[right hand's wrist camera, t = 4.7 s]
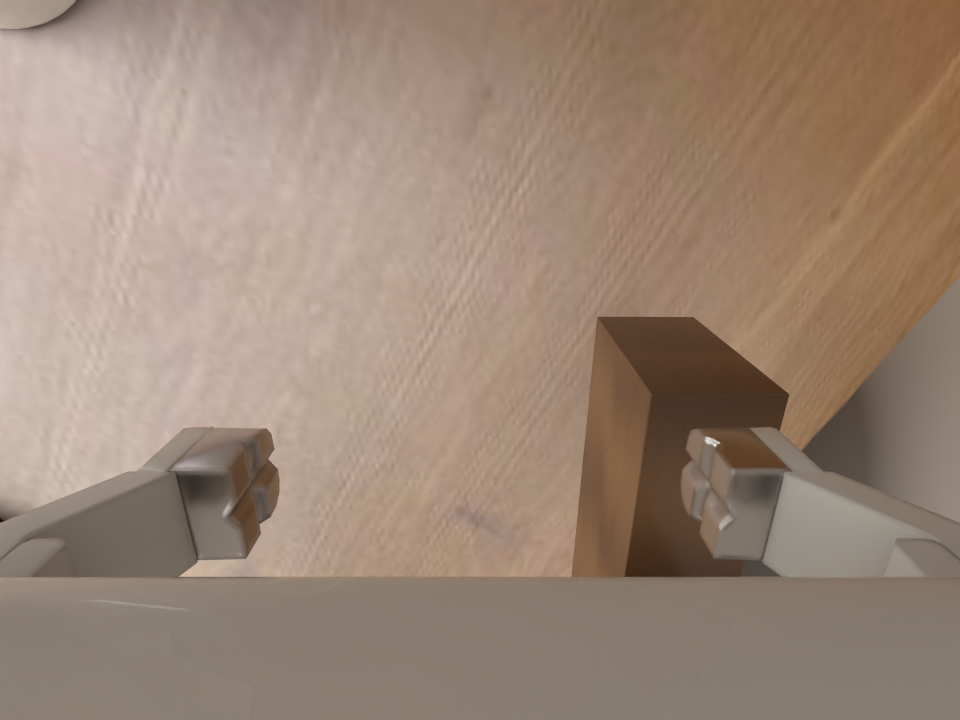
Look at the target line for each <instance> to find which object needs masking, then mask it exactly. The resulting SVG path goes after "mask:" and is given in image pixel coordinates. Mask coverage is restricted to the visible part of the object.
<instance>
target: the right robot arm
mask: <svg viewBox="0 0 960 720" xmlns="http://www.w3.org/2000/svg"><path fill="white" fill-rule="evenodd" d="M76 1H77V0H0V29H23V28H29V27H34V26H38V25H41V24H44V23H46V22H49V21H51V20H53V19H55V18H56V17H58V16H60V15H61V14H63V13H64V12H65V11H67V10H68V9H69V8H70V7H71V6H72V5H73V4H74V3H75V2H76ZM273 450H274V445H273V440H272V435H271V433H270V432H269V431H268V430H267V429H266V428H214V427H195V428H184V429H183V430H182V431H181V432H180V433H178V434H177V435H176V436H175V437H174V438H173V439H172V440H171V441H170V442H169V443H167V444H166V445H165V446H164V447H163V448H162V449H161V450H160V451H159V452H158V453H156V454H155V455H154V456H153V457H152V458H151V459H150V460H149V461H148V462H147V463H145V464H144V465H143V466H142V467H141V468H140V469H139V470H138V471H137V472H126V473H123V474H121V475H118V476H116V477H113V478H111V479H108V480H106V481H103V482H101V483H98V484H96V485H93V486H91V487H88V488H86V489H83V490H81V491H78V492H76V493H73V494H71V495H68V496H66V497H63V498H61V499H58V500H56V501H54V502H51V503H49V504H46V505H44V506H41V507H39V508H36V509H34V510H31V511H29V512H26V513H24V514H21V515H19V516H16V517H14V518H11V519H9V520H6V521H4V522H1V523H0V720H960V523H959V522H956V521H954V520H951V519H949V518H946V517H944V516H941V515H939V514H936V513H934V512H931V511H929V510H926V509H924V508H921V507H919V506H916V505H914V504H911V503H909V502H906V501H904V500H901V499H899V498H896V497H894V496H891V495H889V494H886V493H884V492H881V491H879V490H876V489H874V488H871V487H869V486H866V485H864V484H862V483H859V482H857V481H854V480H852V479H849V478H847V477H844V476H842V475H839V474H837V473H834V472H823V471H822V470H821V469H820V468H819V467H818V466H817V465H816V464H815V463H814V462H812V461H811V460H810V459H809V458H808V457H807V456H806V455H805V454H804V453H803V452H801V451H800V450H799V449H798V448H797V447H796V446H795V445H794V444H793V443H792V442H791V441H789V440H788V439H787V438H786V437H785V436H784V435H783V434H782V433H781V432H780V431H778V430H777V429H775V428H772V427H756V428H748V427H746V428H704V429H693V430H691V432H690V434H689V436H688V439H687V445H686V450H687V452H688V454H689V455H690V457H691V458H692V460H691V461H690V462H689V463H688V464H687V465H686V466H685V467H684V468H683V469H682V476H681V484H680V485H681V496H682V501H683V504H684V507H685V509H686V511H687V513H688V515H689V517H690V518H692V519H694V520H695V521H697V522H698V523H700V524H701V526H700V531H699V534H700V536H701V537H702V539H703V541H704V542H705V544H706V546H707V547H708V549H709V551H710V553H711V554H712V556H713V558H714V559H737V560H763V563H764V564H765V565H767V566H768V567H769V568H771V569H772V570H774V571H775V572H776V573H778V574H779V575H780V576H782V577H179V576H180V575H181V574H183V573H184V572H185V571H187V570H188V569H189V568H191V567H192V566H193V565H195V564H196V563H197V560H222V559H246V558H247V556H248V554H249V553H250V551H251V549H252V548H253V546H254V544H255V542H256V541H257V539H258V537H259V536H260V534H261V531H260V526H259V524H260V523H262V522H263V521H265V520H267V519H268V518H270V517H271V515H272V513H273V511H274V509H275V507H276V504H277V500H278V495H279V475H278V469H277V468H276V467H275V466H274V465H273V464H272V463H271V462H270V461H269V460H268V458H269V457H270V455H271V454H272V452H273Z"/></svg>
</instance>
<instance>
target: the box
mask: <svg viewBox="0 0 960 720" xmlns="http://www.w3.org/2000/svg"><path fill="white" fill-rule="evenodd" d="M788 397H789V394H788V393H787V392H786V391H784V390H783V389H782V388H781V387H780V386H778V385H777V384H776V383H775V382H773V381H772V380H771V379H770V378H768V377H767V376H766V375H765V374H763V373H762V372H761V371H760V370H758V369H757V368H756V367H755V366H753V365H752V364H751V363H750V362H748V361H747V360H746V359H745V358H743V357H742V356H741V355H740V354H738V353H737V352H736V351H735V350H733V349H732V348H731V347H730V346H728V345H727V344H726V343H725V342H723V341H722V340H721V339H720V338H719V337H717V336H716V335H715V334H714V333H712V332H711V331H710V330H709V329H707V328H706V327H705V326H704V325H702V324H701V323H700V322H699V321H697V320H696V319H695V318H694V317H597V326H596V336H595V346H594V356H593V366H592V376H591V386H590V396H589V406H588V416H587V426H586V437H585V447H584V457H583V467H582V477H581V487H580V497H579V507H578V517H577V527H576V537H575V548H574V558H573V568H572V577H741V575H742V571H743V568H744V564H745V560H737V559H714V558H713V556H712V554H711V553H710V551H709V549H708V547H707V546H706V544H705V542H704V541H703V539H702V537H701V536H700V534H699V531H700V526H701V524H700V523H698V522H697V521H695V520H694V519H692V518H690V517H689V515H688V513H687V511H686V509H685V507H684V504H683V501H682V496H681V485H680V484H681V476H682V469H683V468H684V467H685V466H686V465H687V464H688V463H689V462H690V461H691V460H692V458H691V457H690V455H689V454H688V452H687V450H686V445H687V439H688V436H689V434H690V432H691V430H693V429H704V428H746V427H748V428H756V427H772V428H775V429H777V430H778V431H780V427H781V424H782V420H783V416H784V412H785V409H786V405H787V401H788Z"/></svg>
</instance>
